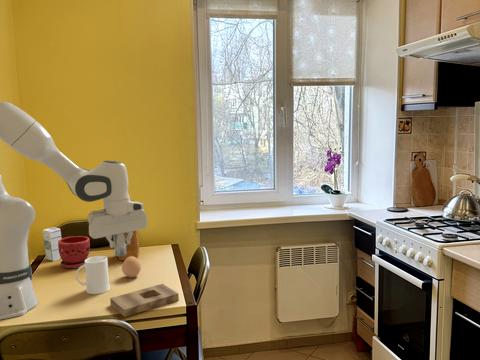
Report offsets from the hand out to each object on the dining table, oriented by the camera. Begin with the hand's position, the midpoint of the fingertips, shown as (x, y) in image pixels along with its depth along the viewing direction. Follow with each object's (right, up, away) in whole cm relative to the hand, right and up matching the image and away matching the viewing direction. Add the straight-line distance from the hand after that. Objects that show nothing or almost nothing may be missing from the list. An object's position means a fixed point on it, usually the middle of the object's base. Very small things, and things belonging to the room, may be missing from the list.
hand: (120, 245), depth 152 cm
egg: (-2, -17, +24) cm, 29 cm away
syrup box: (-45, -14, +50) cm, 69 cm away
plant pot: (-31, -15, +41) cm, 54 cm away
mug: (-13, -19, +11) cm, 25 cm away
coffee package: (-10, -13, +51) cm, 53 cm away
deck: (+9, -20, -1) cm, 22 cm away
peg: (0, -3, +1) cm, 3 cm away
